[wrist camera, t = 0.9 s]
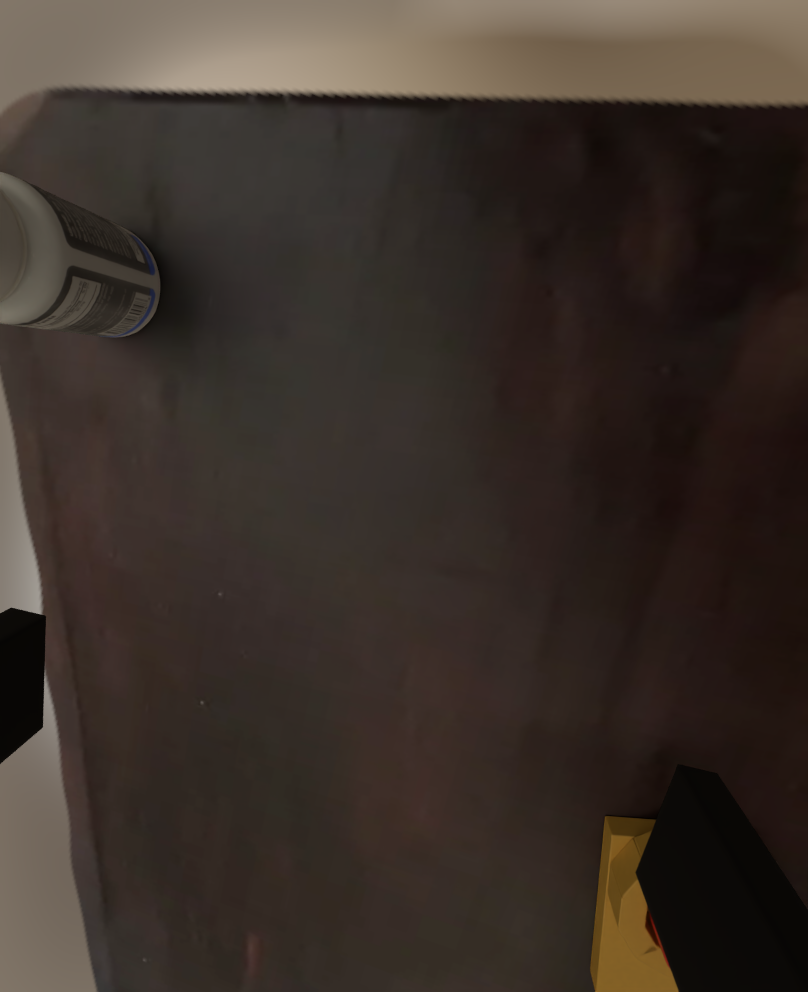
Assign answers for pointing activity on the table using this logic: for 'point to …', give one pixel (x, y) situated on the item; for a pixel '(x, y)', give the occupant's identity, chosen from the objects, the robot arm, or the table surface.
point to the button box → (625, 916)
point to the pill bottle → (70, 267)
